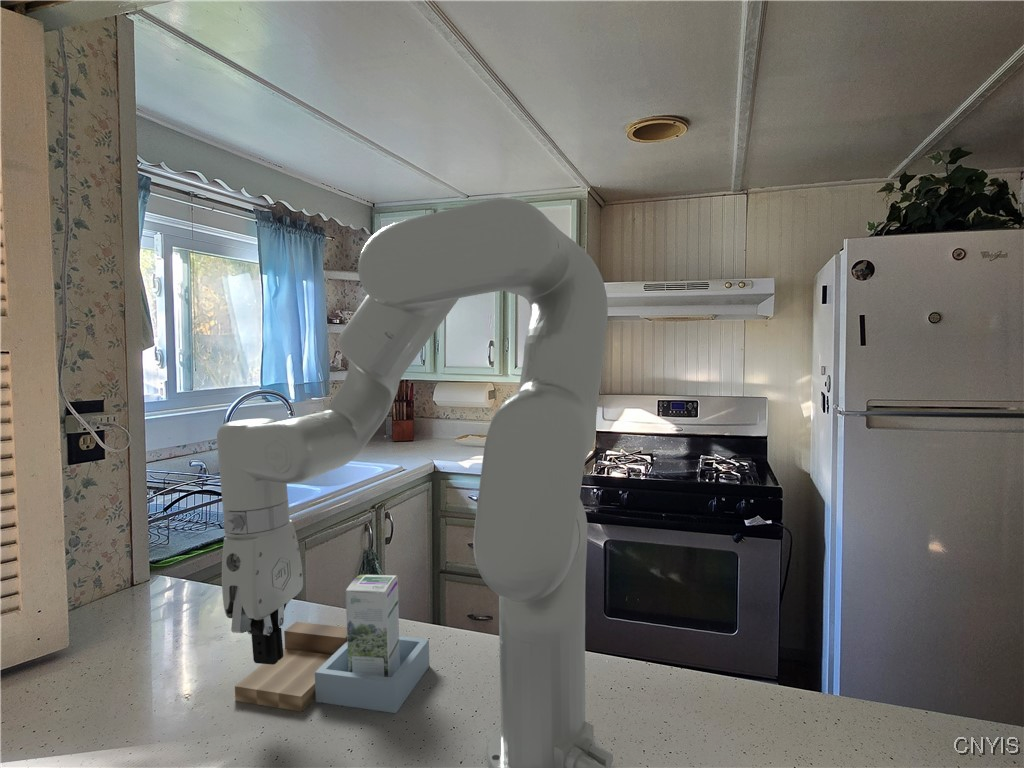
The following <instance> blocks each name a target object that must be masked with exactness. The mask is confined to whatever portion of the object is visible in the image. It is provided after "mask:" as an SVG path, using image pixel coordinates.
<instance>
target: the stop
mask: <svg viewBox="0 0 1024 768" xmlns="http://www.w3.org/2000/svg"><path fill="white" fill-rule="evenodd" d="M283 631H284V633H283V634H284V649H290V650H298V651H305V652H313V653H320V654H327V655H333V654H334V653H335V652H336V651H337V650H338V649H339V648H341V647H342V646H343V645H344V644H345V643H346V642H347V626H346V627H345V626H338V625H328V624H320V623H311V622H302V621H296V622H294V623H293V624H292V625H290V626H289V627H288V628H286V629H285V630H283Z"/></svg>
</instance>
